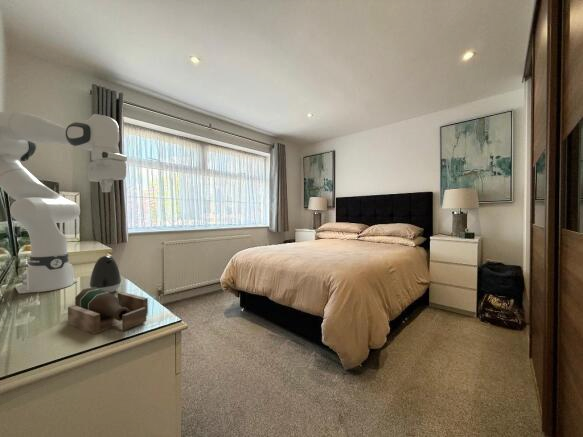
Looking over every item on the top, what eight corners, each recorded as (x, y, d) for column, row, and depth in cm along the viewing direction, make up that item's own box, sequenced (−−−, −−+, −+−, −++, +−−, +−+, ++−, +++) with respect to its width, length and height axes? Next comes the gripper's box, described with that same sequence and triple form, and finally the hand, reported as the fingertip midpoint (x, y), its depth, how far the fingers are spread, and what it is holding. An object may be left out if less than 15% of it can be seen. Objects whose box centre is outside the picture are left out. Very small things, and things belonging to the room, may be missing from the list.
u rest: (68, 323, 71) (67, 306, 70) (122, 306, 84) (122, 291, 84) (106, 340, 62) (106, 320, 62) (160, 317, 75) (160, 301, 75)
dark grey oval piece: (96, 298, 91) (95, 259, 91) (85, 293, 97) (85, 256, 96) (126, 291, 100) (125, 255, 99) (114, 287, 105) (114, 252, 105)
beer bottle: (106, 299, 84) (142, 315, 72) (80, 315, 78) (115, 335, 66) (95, 281, 82) (131, 294, 69) (68, 296, 76) (101, 313, 63)
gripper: (82, 157, 96) (82, 192, 96) (111, 152, 87) (112, 190, 88) (100, 160, 102) (100, 193, 102) (129, 156, 93) (130, 191, 93)
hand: (106, 192), depth 95 cm, fingers closed
